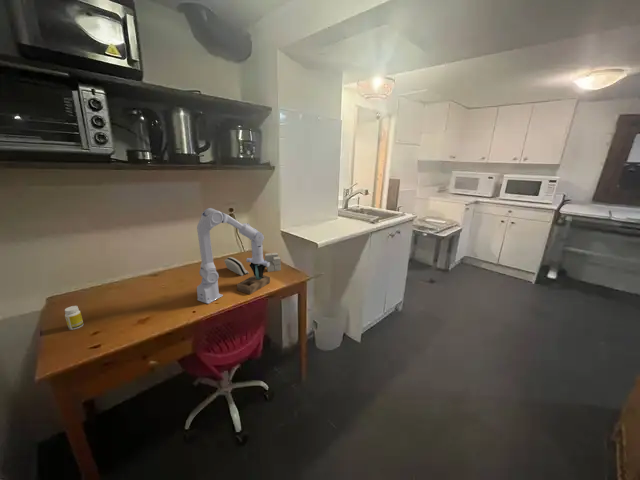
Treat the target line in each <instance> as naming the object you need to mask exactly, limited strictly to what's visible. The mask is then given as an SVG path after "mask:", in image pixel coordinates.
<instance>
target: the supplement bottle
mask: <svg viewBox="0 0 640 480" xmlns="http://www.w3.org/2000/svg"><path fill="white" fill-rule="evenodd" d="M64 313H65V314H64V318H65V320H66V321H65V322H66V324H67V327H68V330H71V331H72V330H73V331H74V330H77V329H81V328H82V327H83V326H84V321H83V317H82V312H81V310H79V307H78V305H72V306H69V307H66V308H65V309H64Z"/></svg>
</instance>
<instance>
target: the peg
mask: <svg viewBox="0 0 640 480" xmlns="http://www.w3.org/2000/svg"><path fill="white" fill-rule="evenodd" d="M257 266H259V265H256V266H255V273H256V279H257V280H260V279H261V278H260V277H259V271H258V268H257Z"/></svg>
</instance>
